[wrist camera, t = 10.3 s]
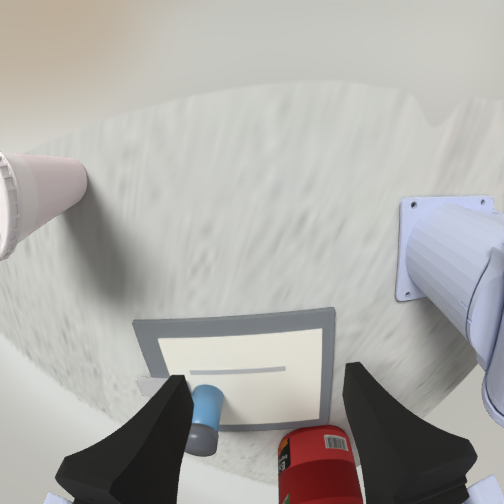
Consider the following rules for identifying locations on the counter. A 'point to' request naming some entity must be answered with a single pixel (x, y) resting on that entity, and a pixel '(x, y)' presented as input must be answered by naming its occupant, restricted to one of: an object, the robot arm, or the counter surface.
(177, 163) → the counter surface
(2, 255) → the smoothie
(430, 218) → the robot arm
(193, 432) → the marker
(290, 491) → the canned food
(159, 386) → the clipboard
